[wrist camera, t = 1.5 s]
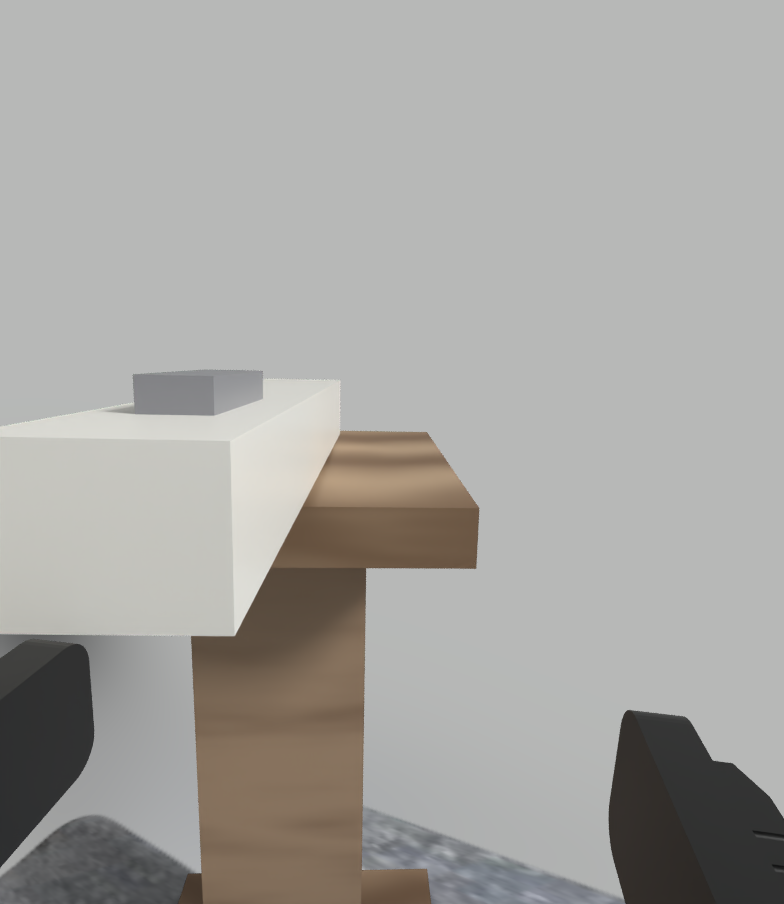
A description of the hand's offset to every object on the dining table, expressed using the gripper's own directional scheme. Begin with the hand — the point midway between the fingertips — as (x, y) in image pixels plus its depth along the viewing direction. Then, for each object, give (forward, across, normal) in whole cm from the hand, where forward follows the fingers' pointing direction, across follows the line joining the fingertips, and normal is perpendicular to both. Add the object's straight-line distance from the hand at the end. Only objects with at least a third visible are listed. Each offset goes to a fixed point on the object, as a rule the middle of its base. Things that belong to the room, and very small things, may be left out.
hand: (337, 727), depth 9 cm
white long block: (+13, +6, 0) cm, 14 cm away
